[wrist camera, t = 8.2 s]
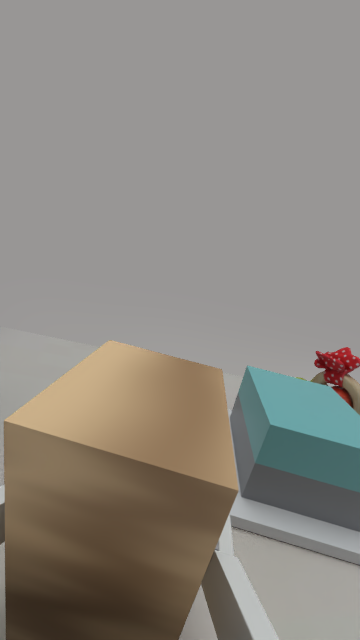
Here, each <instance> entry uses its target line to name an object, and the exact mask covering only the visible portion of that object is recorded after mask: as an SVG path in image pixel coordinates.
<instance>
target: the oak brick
mask: <svg viewBox="0 0 360 640" xmlns="http://www.w3.org/2000/svg"><path fill="white" fill-rule="evenodd" d="M4 484H5V596H6V640H178V639H179V636H180V634H181V631H182V629H183V627H184V624H185V622H186V619H187V617H188V614H189V612H190V609H191V607H192V604H193V602H194V599H195V597H196V595H197V592H198V590H199V587H200V585H201V582H202V580H203V577H204V575H205V572H206V570H207V567H208V565H209V562H210V560H211V558H212V555H213V553H214V550H215V548H216V545H217V543H218V540H219V538H220V535H221V533H222V530H223V528H224V526H225V523H226V521H227V518H228V516H229V513H230V511H231V508H232V506H233V503H234V501H235V498H236V496H237V493H238V491H239V489H238V482H237V475H236V467H235V460H234V453H233V446H232V438H231V431H230V424H229V416H228V409H227V402H226V394H225V387H224V380H223V372H222V369H218V368H215V367H211V366H207V365H203V364H199V363H195V362H191V361H188V360H184V359H180V358H176V357H173V356H168V355H165V354H161V353H157V352H153V351H150V350H146V349H142V348H138V347H135V346H131V345H127V344H123V343H119V342H116V341H112V340H109V341H108V342H106V343H105V344H104V345H102V346H101V347H100V348H98V349H97V350H96V351H94V352H93V353H92V354H91V355H89V356H88V357H87V358H85V359H84V360H83V361H81V362H80V363H79V364H77V365H76V366H75V367H73V368H72V369H71V370H70V371H68V372H67V373H66V374H64V375H63V376H62V377H60V378H59V379H58V380H56V381H55V382H54V383H53V384H51V385H50V386H49V387H47V388H46V389H45V390H43V391H42V392H41V393H39V394H38V395H37V396H35V397H34V398H33V399H32V400H30V401H29V402H28V403H26V404H25V405H24V406H22V407H21V408H20V409H18V410H17V411H16V412H15V413H13V414H12V415H11V416H9V417H8V418H7V419H5V420H4Z"/></svg>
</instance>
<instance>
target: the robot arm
mask: <svg viewBox="0 0 360 640" xmlns="http://www.w3.org/2000/svg"><path fill="white" fill-rule="evenodd" d="M4 541H5V484H3V485H1V486H0V544H2V543H3V542H4ZM201 585H202V588H203V591H204V595H205V598H206V601H207V605H208V608H209V611H210V615H211V618H212V621H213V624H214V628H215V631H216V634H217V638H218V640H279V638H278V636H277V634H276V632H275V630H274V628H273V626H272V624H271V622H270V620H269V618H268V616H267V614H266V612H265V610H264V608H263V606H262V604H261V602H260V600H259V598H258V596H257V594H256V592H255V590H254V588H253V586H252V584H251V582H250V580H249V578H248V576H247V574H246V572H245V570H244V568H243V566H242V564H241V562H240V560H239V558H238V557H236V556H234V549H233V539H232V528H231V518H230V513H229V516H228V518H227V521H226V523H225V526H224V528H223V530H222V533H221V535H220V538H219V540H218V543H217V545H216V548H215V550H214V553H213V555H212V558H211V560H210V562H209V565H208V567H207V570H206V572H205V575H204V577H203V580H202V583H201Z"/></svg>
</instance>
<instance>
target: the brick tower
mask: <svg viewBox="0 0 360 640" xmlns="http://www.w3.org/2000/svg"><path fill="white" fill-rule="evenodd" d="M228 416H229V424H230V431H231V438H232V446H233V453H234V460H235V467H236V475H237V482H238V489H239V491H238V493H237V496H236V498H235V501H234V503H233V506H232V508H231V511H230V518H231V526H233V527H237V528H240V529H243V530H246V531H250V532H253V533H256V534H260V535H263V536H266V537H269V538H273V539H276V540H279V541H283V542H286V543H289V544H292V545H296V546H299V547H302V548H305V549H309V550H312V551H315V552H319V553H322V554H325V555H328V556H332V557H335V558H338V559H341V560H345V561H348V562H351V563H355V564H358V565H360V415H359V414H358V413H357V412H356V411H355V410H354V409H353V408H352V407H351V406H350V405H349V404H348V403H347V402H346V401H345V400H344V399H342V398H341V397H340V396H339V395H338V394H337V393H336V392H335V391H334V390H333V389H332V388H331V387H329V386H326V385H322V384H318V383H314V382H310V381H306V380H302V379H298V378H294V377H290V376H286V375H282V374H278V373H274V372H270V371H267V370H262V369H258V368H254V367H251V366H247V368H246V371H245V374H244V377H243V380H242V383H241V386H240V389H239V392H238V395H237V398H236V401H235V404H234V407H233V410H229V409H228Z"/></svg>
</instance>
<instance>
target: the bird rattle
mask: <svg viewBox="0 0 360 640" xmlns="http://www.w3.org/2000/svg"><path fill="white" fill-rule="evenodd" d="M316 354H317V356H318V359H316V360H315V363H314V364H315V366H316V367H318V368H325V369H326V370H325V371H323V372H321V373H319V374H317V375H316V376H315V377H314V378H313V379H312V380H311V381H310V382H314V383H318V384H322V385H326V386H328V385H327V384H326V383H331V384H334V385H338V386H333V387H331V388H332V389H333V390H334V391H335V392H336V393H337V394H338V395H339V396H340V397H341V398H342V399H344V400H345V401H346V402H347V403H348V404H349V405H350V406H351V407H352V408H353V409H354V410H355V411H356V412H357V413H358V414H359V415H360V384H359V383H358V382H357V381H356V380H355V379H353V378H352V377H351V376H350V375H349V374H348V373H349V372H351V371H353V370H354V369H356V368H357V367H359V366H360V359H359V358H358V357H356V356H353V355H352V354H351V350H350V348H348V347H346V348H342V349H340V350H338V351H336V352H327V353H325V354H323V353H321V352H319V351H316ZM297 378H298V377H297ZM298 379H302V380H304V379H303V378H298ZM306 381H307V380H306Z"/></svg>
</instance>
